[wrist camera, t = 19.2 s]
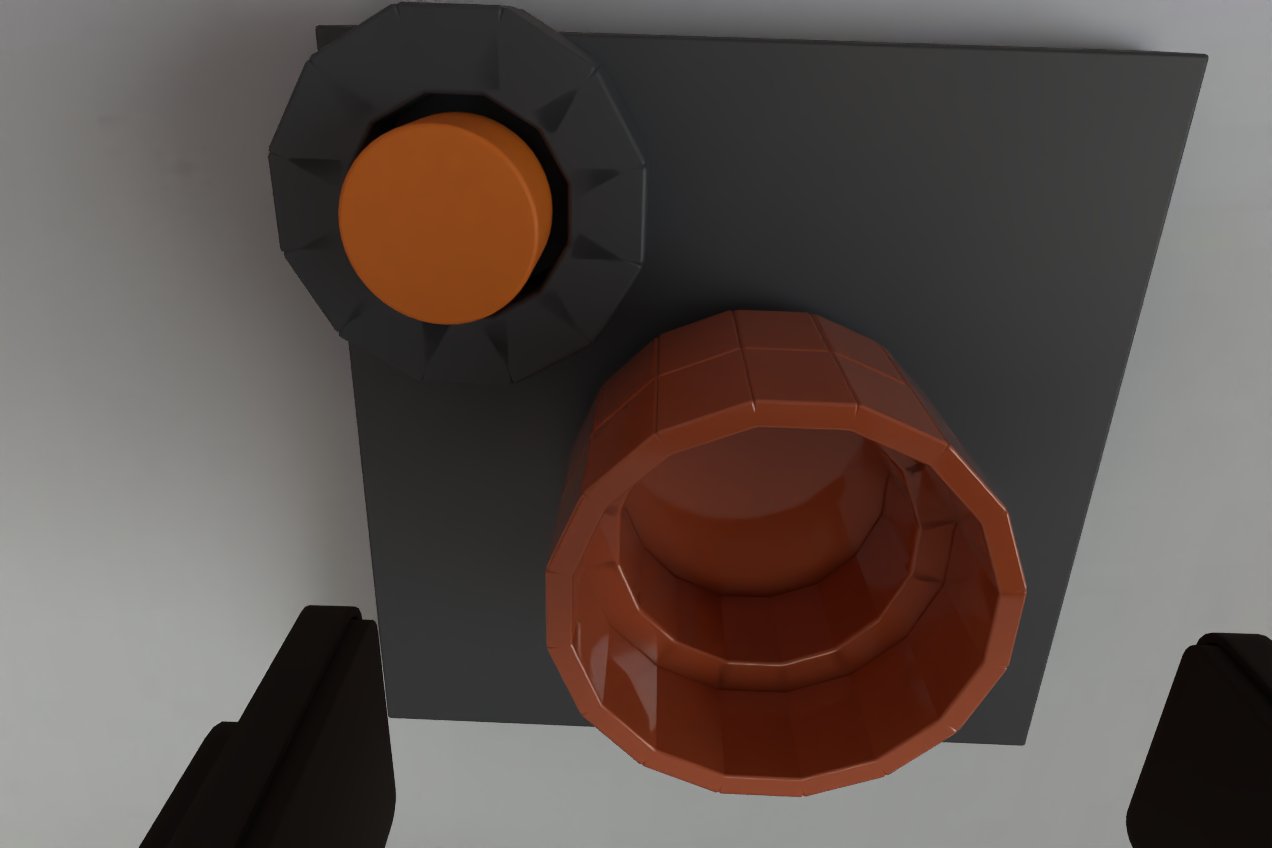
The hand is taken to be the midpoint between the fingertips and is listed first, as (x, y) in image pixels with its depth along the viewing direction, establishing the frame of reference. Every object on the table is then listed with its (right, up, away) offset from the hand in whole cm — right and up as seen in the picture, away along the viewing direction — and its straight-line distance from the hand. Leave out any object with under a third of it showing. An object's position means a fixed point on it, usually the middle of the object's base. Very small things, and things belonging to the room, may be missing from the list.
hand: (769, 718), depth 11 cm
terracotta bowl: (+1, +2, +7) cm, 7 cm away
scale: (0, +4, +8) cm, 9 cm away
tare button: (-4, +7, +3) cm, 9 cm away
